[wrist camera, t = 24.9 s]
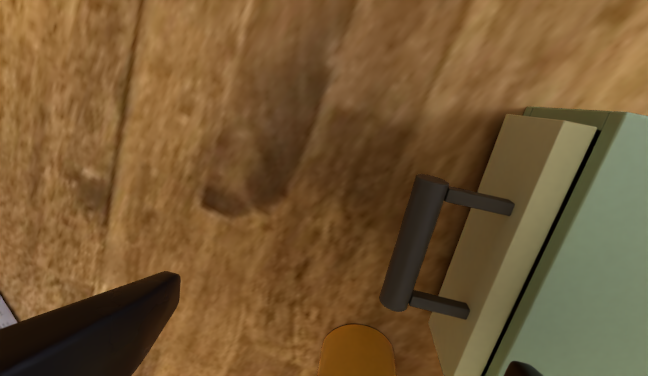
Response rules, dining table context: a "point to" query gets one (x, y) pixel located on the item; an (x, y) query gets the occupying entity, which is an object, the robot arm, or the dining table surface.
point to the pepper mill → (356, 353)
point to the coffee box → (5, 315)
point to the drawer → (488, 237)
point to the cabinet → (591, 264)
